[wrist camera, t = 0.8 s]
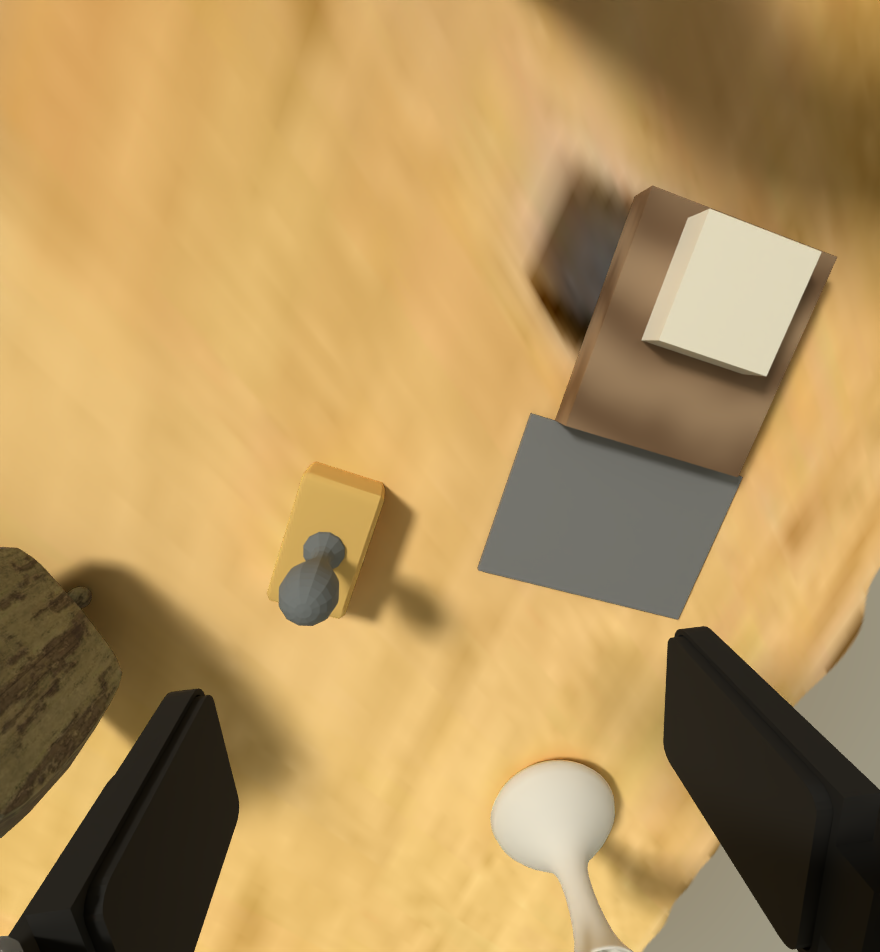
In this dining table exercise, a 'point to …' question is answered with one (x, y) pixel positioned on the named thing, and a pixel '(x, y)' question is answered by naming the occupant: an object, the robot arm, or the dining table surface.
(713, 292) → the tile
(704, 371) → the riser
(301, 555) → the rubber stamp
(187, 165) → the dining table surface
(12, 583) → the tabletop clock
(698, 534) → the mat
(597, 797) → the flower in vase
